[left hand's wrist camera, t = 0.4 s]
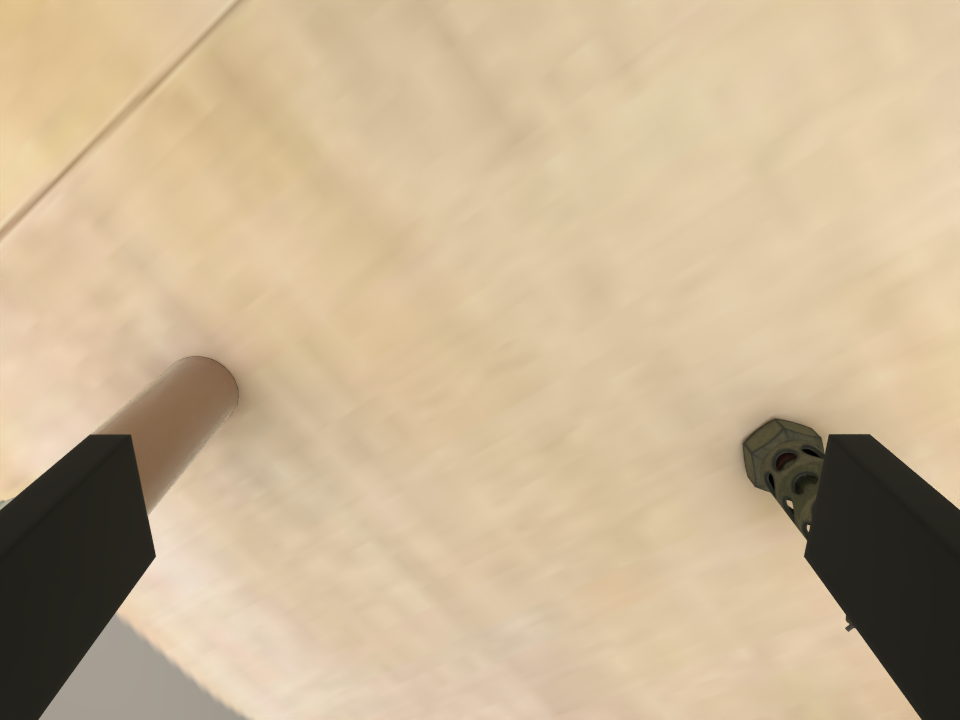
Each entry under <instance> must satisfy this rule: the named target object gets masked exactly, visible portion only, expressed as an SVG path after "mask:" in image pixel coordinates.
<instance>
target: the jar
mask: <svg viewBox="0 0 960 720" xmlns="http://www.w3.org/2000/svg"><path fill="white" fill-rule="evenodd" d="M237 402H238V388H237V385H236V382H235V380H234V378H233V376H232V375H231V374H230V372H229V371H228V370H227V369H226V368H225V367H224V366H222V365H221V364H219V363H218V362H216V361H214V360H212V359H209V358H205V357H187V358H184V359H181V360H179V361H178V362H176V363H175V364H173V365H172V366H171V367H170V368H169V369H168V370H166V371H165V372H164V373H163V374H162V375H160V376H159V377H158V378H157V379H156V380H154V381H153V382H152V383H151V384H150V385H148V386H147V387H146V388H145V389H144V390H143V391H141V392H140V393H139V394H138V395H137V396H135V397H134V398H133V399H132V400H131V401H129V402H128V403H127V404H126V405H125V406H123V407H122V408H121V409H120V410H119V411H118V412H116V413H115V414H114V415H113V416H112V417H110V418H109V419H108V420H107V421H106V422H104V423H103V424H102V425H101V426H100V427H98V428H97V429H96V430H95V431H94V432H93V433H91V434H131V437H132V442H133V447H134V451H135V456H136V461H137V466H138V471H139V476H140V481H141V486H142V491H143V496H144V500H145V505H146V510H147V515H148V516H149V515H150V513H151V512H152V511H153V510H154V508H155V507H156V506H157V505H158V503H159V502H160V501H161V500H162V499H163V497H164V496H165V495H166V494H167V492H168V491H169V490H170V489H171V487H172V486H173V485H174V484H175V483H176V481H177V480H178V479H179V478H180V476H181V475H182V474H183V473H184V471H185V470H186V469H187V468H188V467H189V465H190V464H191V463H192V462H193V460H194V459H195V458H196V457H197V455H198V454H199V453H200V452H201V450H202V449H203V448H204V447H205V446H206V444H207V443H208V442H209V441H210V439H211V438H212V437H213V436H214V434H215V433H216V432H217V431H218V430H219V428H220V427H221V426H222V425H223V423H224V422H225V421H226V420H227V418H228V417H229V416H230V415H231V413H232V412H233V411H234V409H235V407H236V405H237Z"/></svg>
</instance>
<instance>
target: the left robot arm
mask: <svg viewBox="0 0 960 720" xmlns="http://www.w3.org/2000/svg"><path fill="white" fill-rule="evenodd" d="M155 557H156V554H155V549H154V545H153V540H152V535H151V530H150V525H149V520H148V515H147V510H146V505H145V500H144V496H143V491H142V486H141V481H140V476H139V471H138V466H137V461H136V456H135V451H134V447H133V442H132V437H131V434H90V435H89V436H88V437H87V438H85V439H84V440H83V441H82V442H81V443H79V444H78V445H77V446H76V447H75V448H73V449H72V450H71V451H70V452H69V453H67V454H66V455H65V456H64V457H63V458H62V459H60V460H59V461H58V462H57V463H56V464H54V465H53V466H52V467H51V468H50V469H48V470H47V471H46V472H45V473H44V474H42V475H41V476H40V477H39V478H38V479H37V480H35V481H34V482H33V483H32V484H31V485H29V486H28V487H27V488H26V489H25V490H23V491H22V492H21V493H20V494H19V495H17V496H16V497H15V498H14V499H13V500H12V501H10V502H9V503H8V504H7V505H6V506H4V507H3V508H2V509H1V510H0V720H38V719H39V718H40V717H41V715H42V714H43V712H44V711H45V710H46V708H47V707H48V705H49V704H50V703H51V701H52V700H53V699H54V697H55V696H56V694H57V693H58V692H59V690H60V689H61V687H62V686H63V685H64V683H65V682H66V680H67V679H68V678H69V676H70V675H71V673H72V672H73V671H74V669H75V668H76V667H77V665H78V664H79V662H80V661H81V660H82V658H83V657H84V656H85V654H86V653H87V651H88V650H89V649H90V647H91V646H92V644H93V643H94V642H95V640H96V639H97V637H98V636H99V635H100V633H101V632H102V631H103V629H104V628H105V626H106V625H107V624H108V622H109V621H110V619H111V618H112V617H113V615H114V614H115V613H116V611H117V610H118V608H119V607H120V606H121V604H122V603H123V601H124V600H125V599H126V597H127V596H128V595H129V593H130V592H131V590H132V589H133V588H134V586H135V585H136V583H137V582H138V581H139V579H140V578H141V576H142V575H143V574H144V572H145V571H146V570H147V568H148V567H149V565H150V564H151V563H152V561H153V560H154V558H155ZM804 557H805V558H806V560H807V561H808V563H809V564H810V565H811V567H812V568H813V570H814V571H815V572H816V574H817V575H818V576H819V578H820V579H821V581H822V582H823V583H824V585H825V586H826V588H827V589H828V590H829V592H830V593H831V595H832V596H833V597H834V599H835V600H836V601H837V603H838V604H839V606H840V607H841V608H842V610H843V611H844V613H845V614H846V615H847V617H848V618H849V619H850V621H851V622H852V624H853V625H854V626H855V628H856V629H857V631H858V632H859V633H860V635H861V636H862V637H863V639H864V640H865V642H866V643H867V644H868V646H869V647H870V649H871V650H872V651H873V653H874V654H875V656H876V657H877V658H878V660H879V661H880V662H881V664H882V665H883V667H884V668H885V669H886V671H887V672H888V674H889V675H890V676H891V678H892V679H893V680H894V682H895V683H896V685H897V686H898V687H899V689H900V690H901V692H902V693H903V694H904V696H905V697H906V699H907V700H908V701H909V703H910V704H911V705H912V707H913V708H914V710H915V711H916V712H917V714H918V715H919V717H920V718H921V719H922V720H960V510H959V509H958V508H957V507H956V506H954V505H953V504H952V503H951V502H950V501H948V500H947V499H946V498H945V497H944V496H943V495H941V494H940V493H939V492H938V491H937V490H935V489H934V488H933V487H932V486H931V485H929V484H928V483H927V482H926V481H925V480H923V479H922V478H921V477H920V476H919V475H918V474H916V473H915V472H914V471H913V470H912V469H910V468H909V467H908V466H907V465H906V464H904V463H903V462H902V461H901V460H900V459H898V458H897V457H896V456H895V455H894V454H893V453H891V452H890V451H889V450H888V449H887V448H885V447H884V446H883V445H882V444H881V443H879V442H878V441H877V440H876V439H875V438H873V437H872V436H871V435H870V434H829V437H828V442H827V447H826V451H825V456H824V461H823V466H822V471H821V476H820V481H819V486H818V491H817V496H816V500H815V505H814V510H813V515H812V520H811V525H810V530H809V535H808V540H807V545H806V549H805V554H804Z"/></svg>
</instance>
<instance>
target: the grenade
mask: <svg viewBox="0 0 960 720" xmlns="http://www.w3.org/2000/svg"><path fill="white" fill-rule="evenodd" d="M743 448H744V460H745V466H746V471H747V476H748V478H749V479H750V481H751V482H752V483H753V485H754V486H755V487H757V488H759V489H762V490H765V491H768V492H771V493H772V495H773V496H774V497H775V499H776V500H777V501H778V503H779V504H780V505H781V507H782V508H783V509H784V511H785V512H786V513H787V515H788V516H789V517H790V519H791V520H792V521H793V523H794V524H795V525H796V527H797V528H798V529H799V531H800V532H801V533H802V534H803V536H804V537H805V538H806V540H808V535H809V532H808V531H807V525H811V520H812V515H813V510H814V505H815V500H816V496H817V491H818V486H819V481H820V476H821V471H822V466H823V461H824V456H825V455H824V448H823V443H822V439H821V437H820V436H819V435H818V434H817V433H816V432H815V431H814V430H813V429H812V428H809V427H806V426H803V425H800V424H797V423H793V422H789V421H785V420H779V419H775V420H773V421H771V422H769V423H767V424H766V425H764V426H763V427H761V428H760V429H758V430H757V431H756V432H755V433H754V434H752V435H751V436H750V437H749V438H748V439H747V440H746V441H745V442H744V444H743ZM787 500H789V501H792V503H793V508H794V509H792V508H791V507H789V506H788V505H787V502H786V501H787ZM846 621H847V622H848V623H849V624H850V625H849V626H847V627H846V628H845V629H846V630H847V631H848V632H849V631H850V630H851V629H853V628H855V626H854V625H853V624H852V622H851V621H850V619H849V618H848V617H847V615H846Z"/></svg>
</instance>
